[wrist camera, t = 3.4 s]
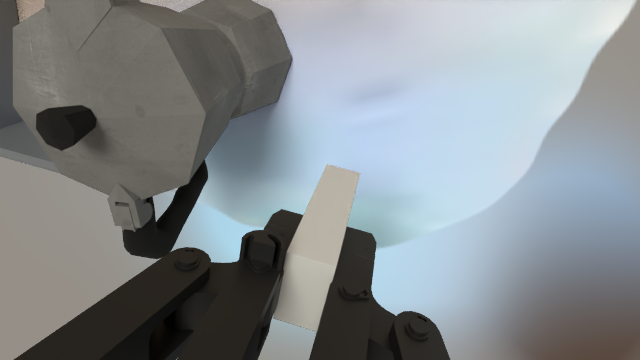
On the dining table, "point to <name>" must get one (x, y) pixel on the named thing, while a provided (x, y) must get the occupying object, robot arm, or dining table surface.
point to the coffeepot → (143, 97)
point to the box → (3, 120)
